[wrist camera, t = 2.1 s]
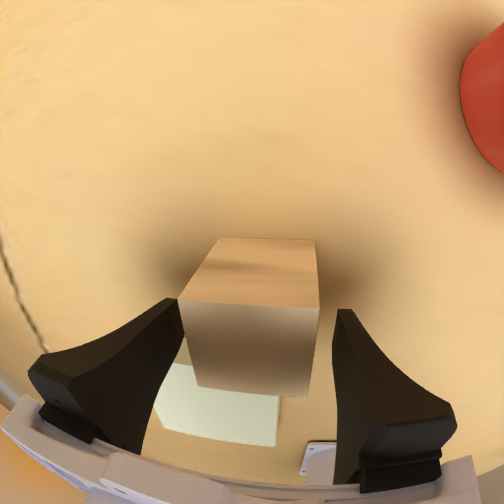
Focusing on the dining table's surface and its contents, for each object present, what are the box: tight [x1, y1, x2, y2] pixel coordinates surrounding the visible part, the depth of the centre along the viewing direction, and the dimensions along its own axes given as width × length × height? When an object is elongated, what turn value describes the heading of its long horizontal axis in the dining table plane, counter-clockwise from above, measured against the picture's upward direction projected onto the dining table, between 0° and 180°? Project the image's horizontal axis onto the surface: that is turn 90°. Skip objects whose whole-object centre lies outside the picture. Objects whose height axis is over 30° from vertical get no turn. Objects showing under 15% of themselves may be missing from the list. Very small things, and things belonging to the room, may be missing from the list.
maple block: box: [177, 237, 320, 398], centre depth 13 cm, size 5×5×6 cm
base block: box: [153, 337, 280, 447], centre depth 20 cm, size 10×10×3 cm
